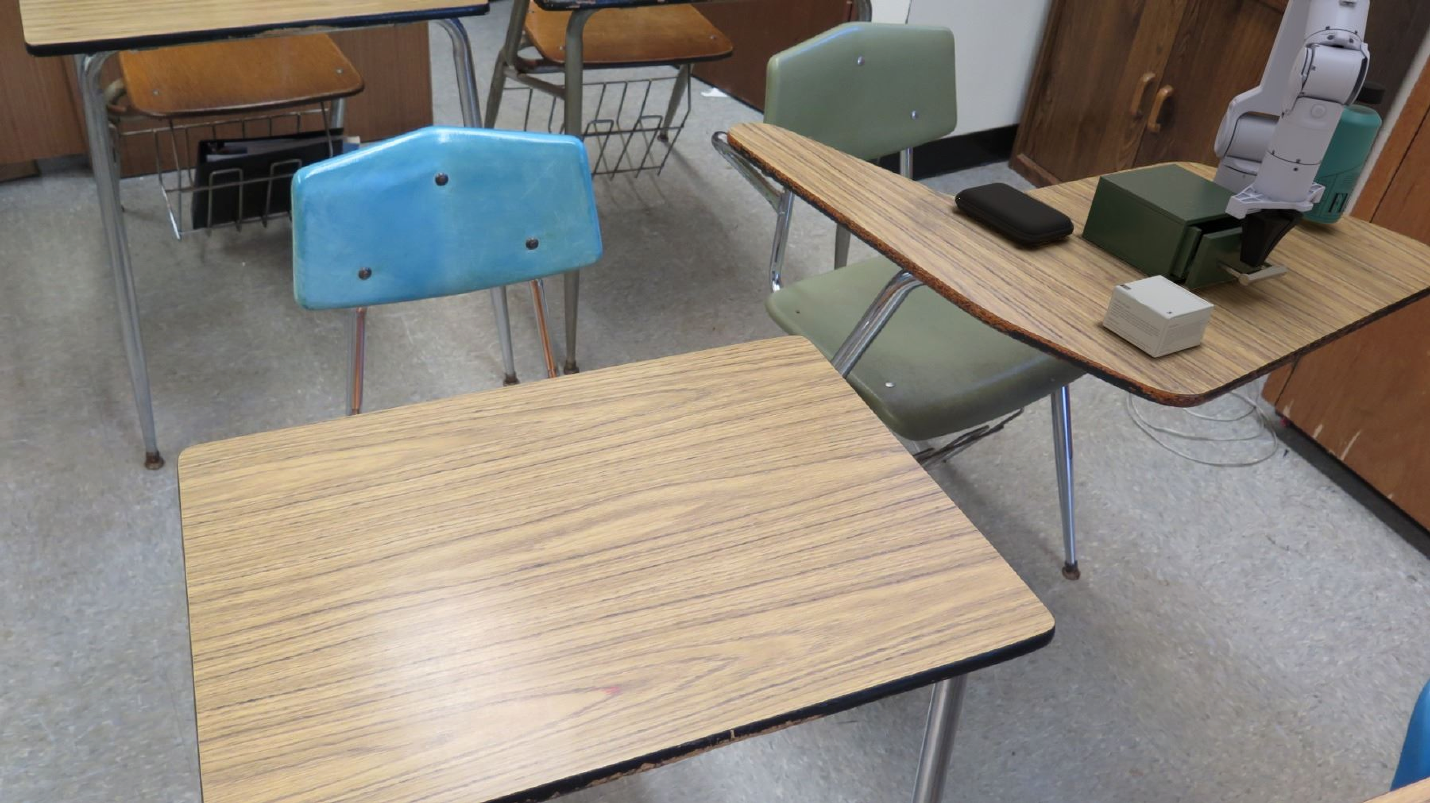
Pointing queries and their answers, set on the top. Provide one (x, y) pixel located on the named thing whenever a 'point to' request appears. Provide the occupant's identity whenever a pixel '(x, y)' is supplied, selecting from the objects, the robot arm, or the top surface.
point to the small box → (1157, 315)
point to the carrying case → (1014, 214)
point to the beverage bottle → (1346, 155)
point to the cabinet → (1152, 214)
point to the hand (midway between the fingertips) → (1249, 263)
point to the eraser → (1207, 231)
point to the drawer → (1219, 258)
